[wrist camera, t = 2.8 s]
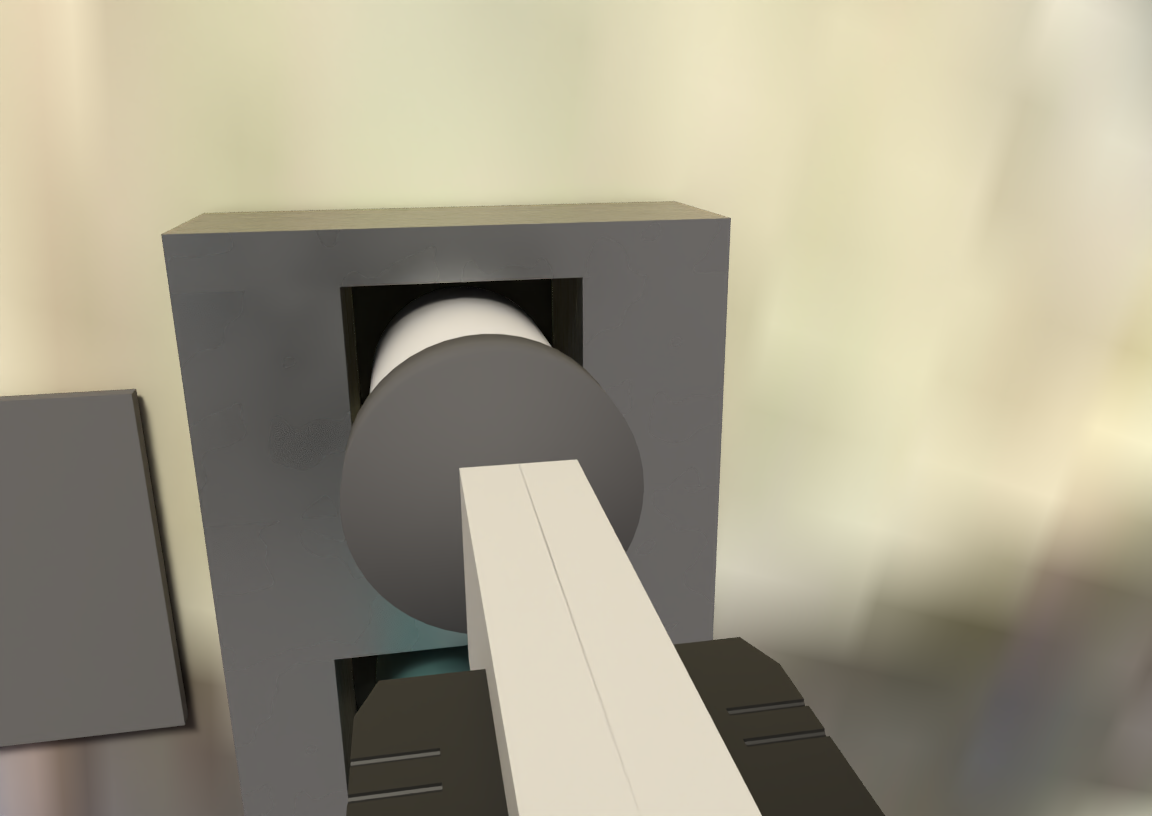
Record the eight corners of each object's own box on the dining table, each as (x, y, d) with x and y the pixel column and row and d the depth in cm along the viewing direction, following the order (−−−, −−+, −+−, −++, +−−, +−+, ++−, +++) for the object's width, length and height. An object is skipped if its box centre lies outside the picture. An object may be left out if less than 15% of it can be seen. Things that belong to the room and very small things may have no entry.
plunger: (366, 477, 21) (352, 649, 14) (349, 276, 20) (325, 361, 13) (565, 462, 22) (642, 618, 15) (562, 268, 20) (646, 344, 14)
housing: (660, 776, 28) (702, 878, 24) (282, 828, 26) (263, 948, 22) (674, 201, 23) (731, 218, 19) (203, 213, 21) (161, 234, 17)
